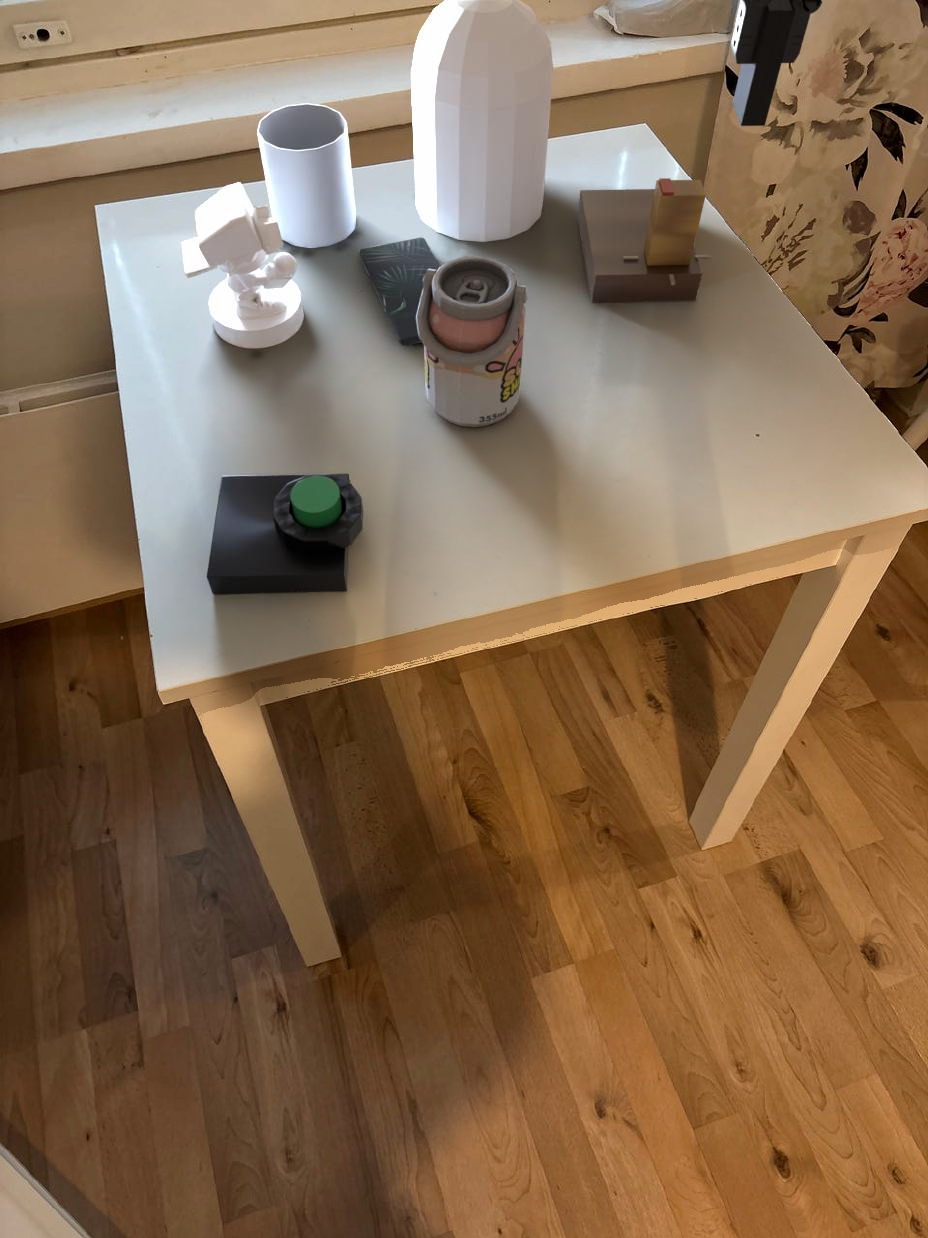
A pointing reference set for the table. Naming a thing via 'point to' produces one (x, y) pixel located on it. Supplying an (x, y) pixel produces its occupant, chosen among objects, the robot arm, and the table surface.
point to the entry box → (279, 538)
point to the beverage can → (472, 339)
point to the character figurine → (245, 271)
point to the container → (481, 118)
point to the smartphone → (400, 281)
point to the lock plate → (628, 251)
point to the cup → (308, 174)
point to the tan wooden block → (673, 221)
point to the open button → (316, 501)
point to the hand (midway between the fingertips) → (748, 113)
